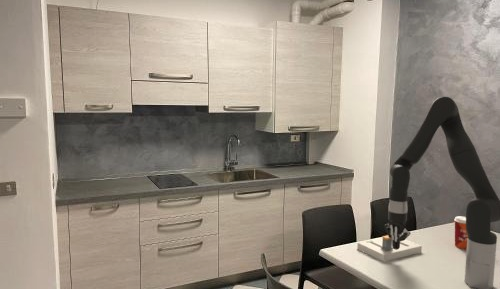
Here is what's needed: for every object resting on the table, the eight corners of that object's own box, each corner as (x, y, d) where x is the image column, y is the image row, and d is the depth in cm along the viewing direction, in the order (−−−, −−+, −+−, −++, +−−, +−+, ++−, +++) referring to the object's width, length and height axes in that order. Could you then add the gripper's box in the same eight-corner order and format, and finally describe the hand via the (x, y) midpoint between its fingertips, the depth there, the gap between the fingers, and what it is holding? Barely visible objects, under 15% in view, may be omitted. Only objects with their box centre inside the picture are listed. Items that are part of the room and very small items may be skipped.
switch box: (383, 261, 159) (383, 254, 158) (357, 248, 173) (357, 242, 173) (421, 252, 169) (421, 245, 169) (393, 240, 184) (394, 234, 183)
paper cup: (461, 250, 172) (463, 221, 170) (448, 244, 179) (450, 216, 178) (474, 248, 174) (477, 220, 172) (461, 242, 181) (463, 215, 180)
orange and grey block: (386, 250, 162) (386, 238, 161) (380, 248, 165) (381, 236, 164) (393, 249, 164) (393, 237, 163) (387, 246, 167) (388, 234, 166)
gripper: (416, 213, 154) (414, 252, 156) (391, 205, 165) (390, 242, 167) (404, 215, 150) (402, 256, 152) (379, 207, 162) (377, 245, 164)
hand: (395, 248), depth 160 cm, fingers closed
